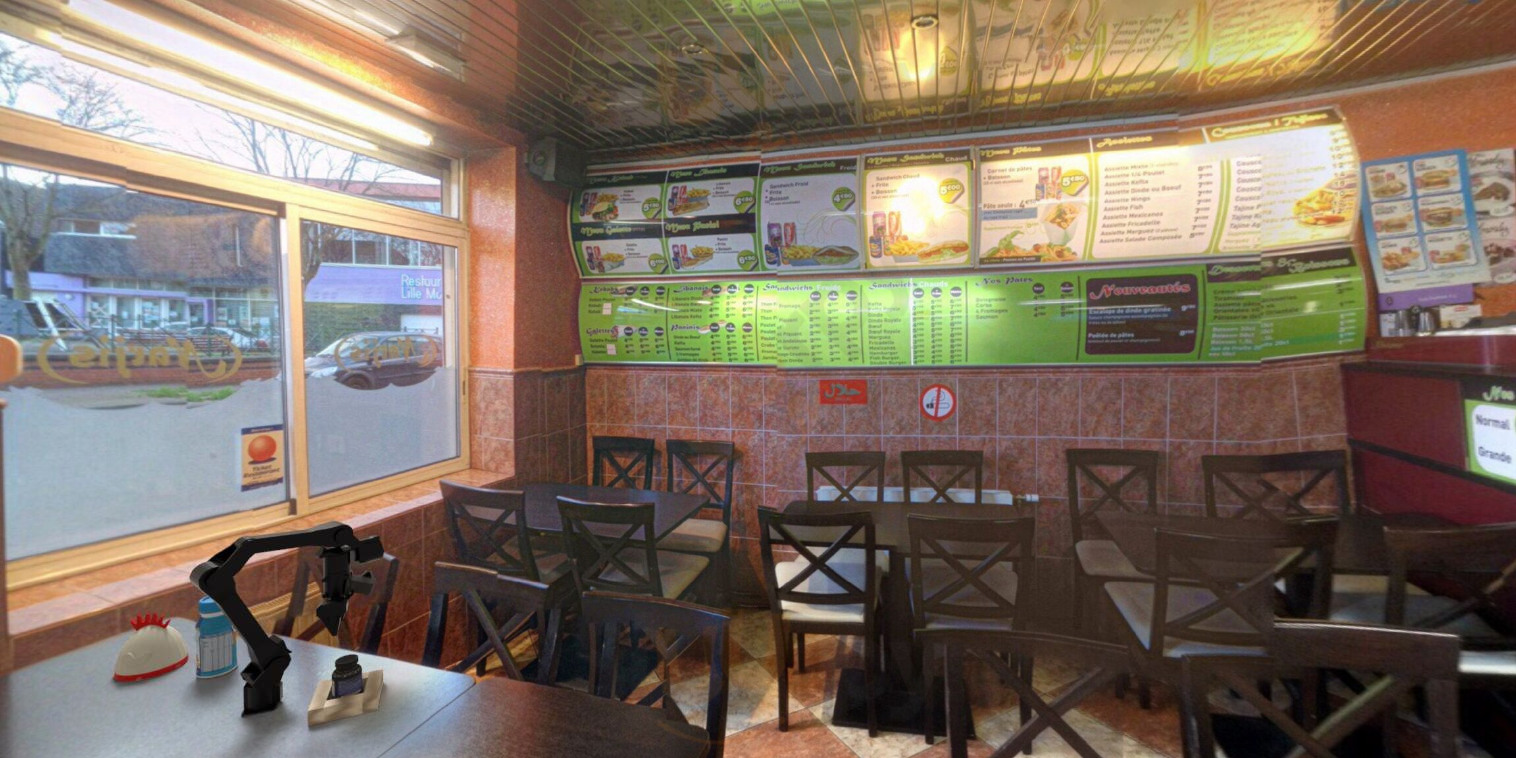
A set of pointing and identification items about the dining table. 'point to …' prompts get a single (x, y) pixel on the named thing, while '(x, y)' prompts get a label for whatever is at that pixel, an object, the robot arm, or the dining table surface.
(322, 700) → the holder block
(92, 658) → the dining table surface
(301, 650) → the dining table surface
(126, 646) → the cream hat
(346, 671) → the pill bottle
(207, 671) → the blue vitamin bottle
